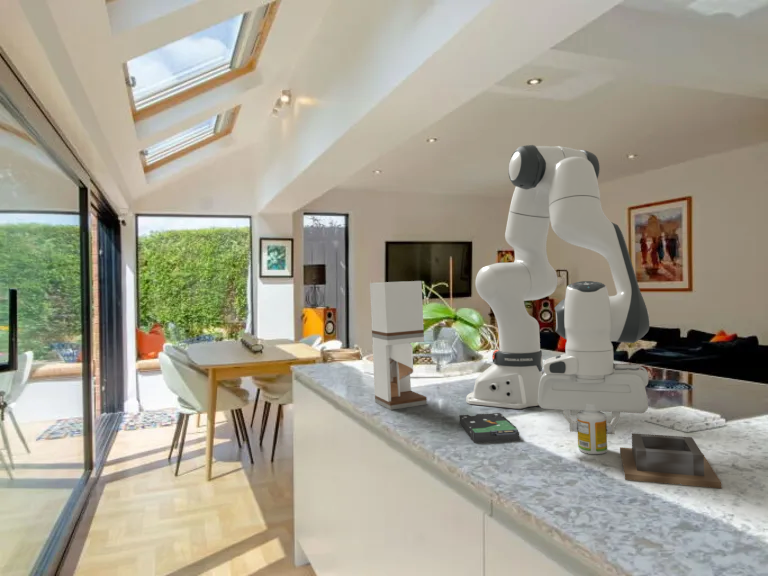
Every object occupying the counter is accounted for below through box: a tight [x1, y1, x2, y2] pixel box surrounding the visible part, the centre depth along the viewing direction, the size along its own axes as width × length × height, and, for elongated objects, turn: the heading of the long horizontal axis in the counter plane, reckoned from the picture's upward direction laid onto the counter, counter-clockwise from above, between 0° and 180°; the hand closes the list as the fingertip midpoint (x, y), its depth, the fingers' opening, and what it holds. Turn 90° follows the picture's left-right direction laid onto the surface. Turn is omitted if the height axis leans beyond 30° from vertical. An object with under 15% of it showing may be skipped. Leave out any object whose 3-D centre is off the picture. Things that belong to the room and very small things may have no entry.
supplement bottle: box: [576, 404, 608, 455], centre depth 102 cm, size 5×5×10 cm
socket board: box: [619, 432, 723, 489], centre depth 91 cm, size 14×14×4 cm
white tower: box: [369, 280, 428, 411], centre depth 148 cm, size 11×11×35 cm
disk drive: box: [458, 412, 520, 444], centre depth 118 cm, size 10×3×15 cm
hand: (591, 432), depth 102 cm, fingers closed on supplement bottle, 5 cm apart
